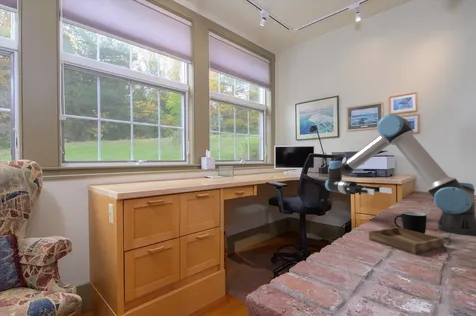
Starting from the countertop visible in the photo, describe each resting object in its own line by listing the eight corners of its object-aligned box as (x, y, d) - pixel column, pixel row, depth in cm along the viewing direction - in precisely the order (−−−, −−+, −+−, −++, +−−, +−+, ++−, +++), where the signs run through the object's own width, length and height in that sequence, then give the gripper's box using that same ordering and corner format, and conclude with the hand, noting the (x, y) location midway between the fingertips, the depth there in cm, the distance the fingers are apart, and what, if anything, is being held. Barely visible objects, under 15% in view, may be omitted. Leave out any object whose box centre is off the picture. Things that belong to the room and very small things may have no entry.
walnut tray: (396, 234, 106) (396, 226, 106) (443, 247, 89) (443, 238, 89) (369, 239, 98) (368, 231, 99) (415, 254, 82) (415, 244, 82)
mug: (428, 235, 104) (427, 213, 104) (425, 240, 97) (424, 216, 98) (396, 230, 112) (396, 209, 113) (392, 234, 106) (391, 212, 106)
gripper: (363, 192, 141) (399, 197, 121) (332, 194, 131) (366, 200, 111) (363, 180, 141) (399, 183, 121) (332, 181, 131) (365, 184, 111)
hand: (383, 191), depth 116 cm, fingers open, 13 cm apart
